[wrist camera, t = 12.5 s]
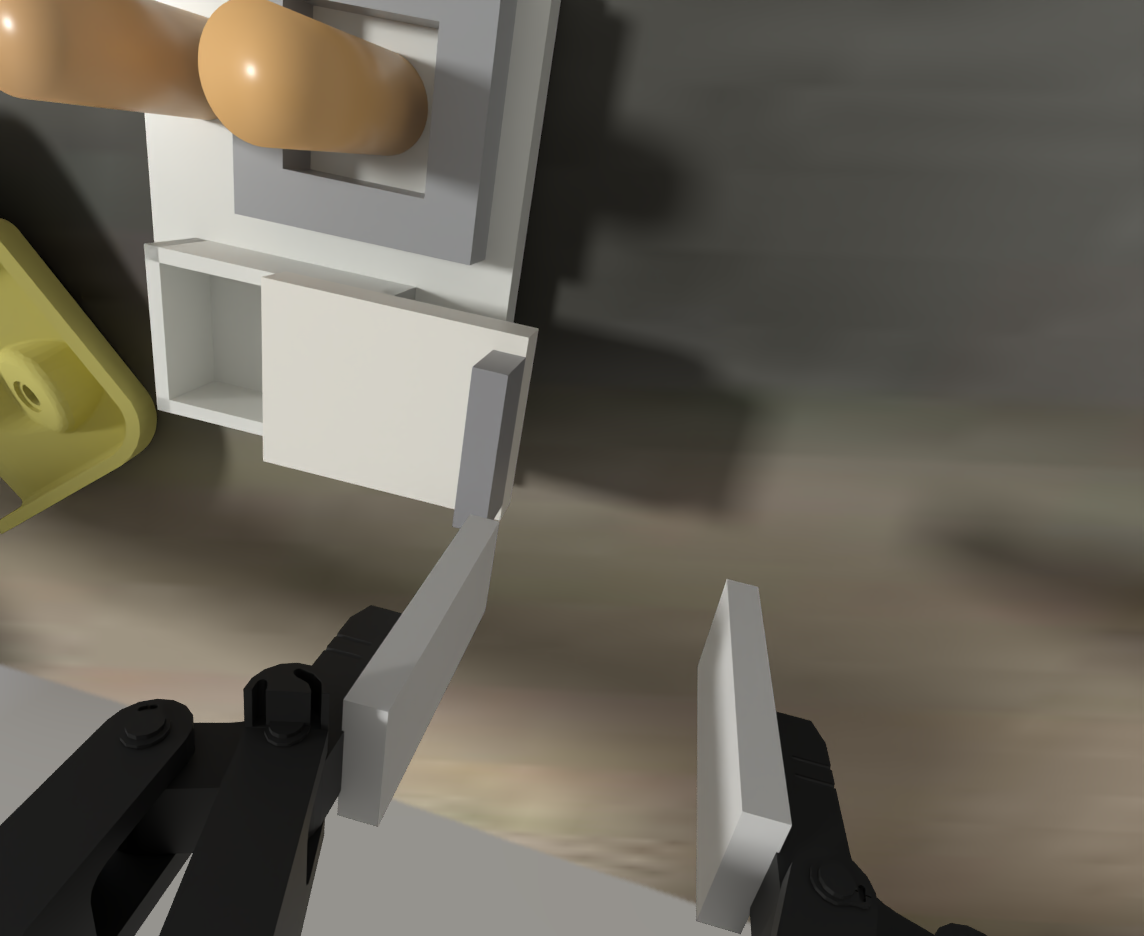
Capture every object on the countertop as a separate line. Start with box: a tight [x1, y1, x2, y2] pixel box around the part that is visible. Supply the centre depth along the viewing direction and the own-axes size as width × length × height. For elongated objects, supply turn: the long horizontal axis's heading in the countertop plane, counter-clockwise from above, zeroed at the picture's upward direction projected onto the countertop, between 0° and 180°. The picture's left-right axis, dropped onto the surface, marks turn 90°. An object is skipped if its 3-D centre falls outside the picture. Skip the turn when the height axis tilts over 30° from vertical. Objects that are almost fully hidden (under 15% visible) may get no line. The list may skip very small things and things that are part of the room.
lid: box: [261, 271, 539, 528], centre depth 25 cm, size 10×7×4 cm
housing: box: [0, 0, 561, 436], centre depth 25 cm, size 16×20×10 cm
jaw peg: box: [198, 0, 428, 156], centre depth 22 cm, size 4×4×8 cm
